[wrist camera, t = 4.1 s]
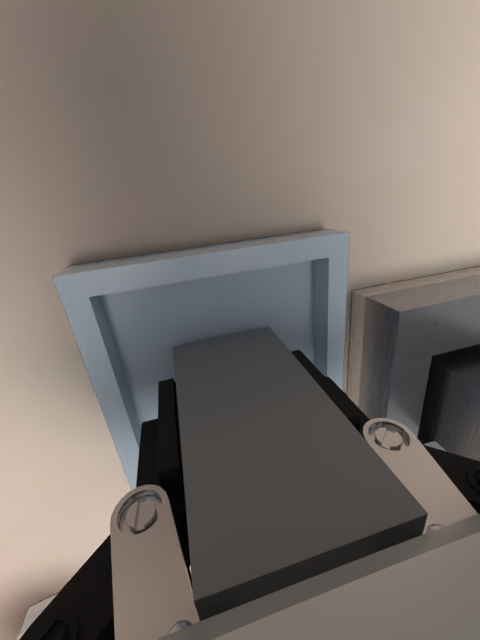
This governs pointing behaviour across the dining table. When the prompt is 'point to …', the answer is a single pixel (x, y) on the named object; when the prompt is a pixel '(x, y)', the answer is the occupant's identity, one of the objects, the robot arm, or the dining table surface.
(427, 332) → the grey socket
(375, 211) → the dining table surface
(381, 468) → the plug
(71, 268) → the tray
